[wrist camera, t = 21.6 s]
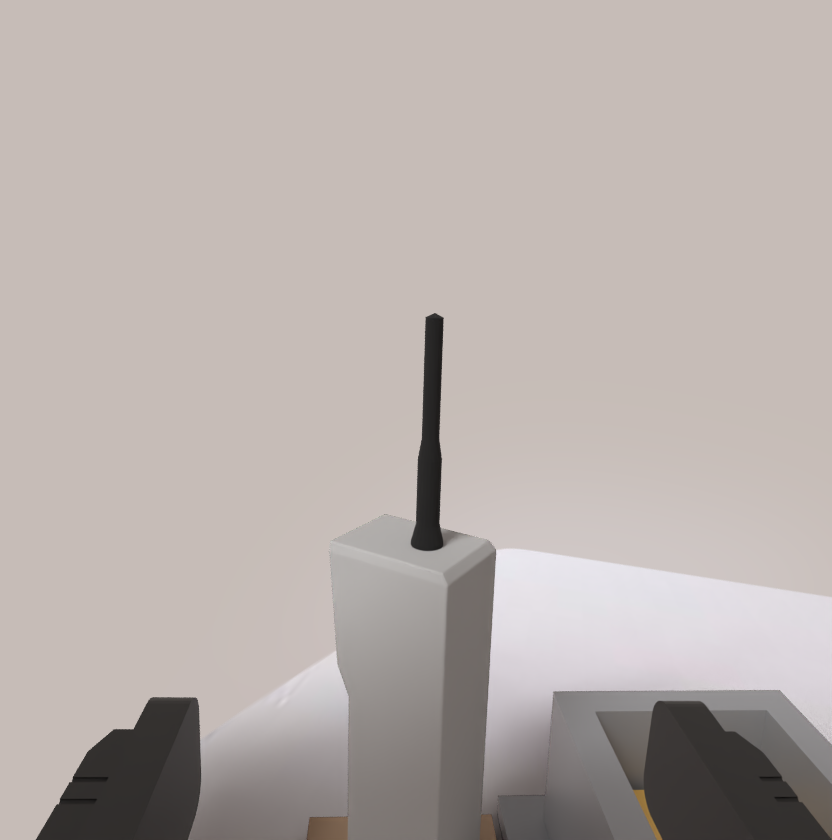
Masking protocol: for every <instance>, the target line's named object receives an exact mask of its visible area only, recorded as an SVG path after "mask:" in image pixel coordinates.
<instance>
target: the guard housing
mask: <svg viewBox="0 0 832 840" xmlns="http://www.w3.org/2000/svg"><path fill="white" fill-rule="evenodd" d="M657 701H701V702H703V703H704V704H705V705H706V706H707V708H708V709H709V710H710V712H711V713H712V714H713V716H714V717H715V718H716V720H717V721H718V722H719V724H720V725H721V726H722V728H723V729H724V730H725V731H735V732H737V733H738V734H739V735H741V736H742V737H743V738H745V739H746V740H747V741H749V742H750V743H751V744H753V745H754V746H755V747H757V748H758V749H759V750H761V751H762V752H763V753H764V754H765V755H766V757H767V758H768V759H769V761H770V762H771V763H772V764H773V766H774V767H775V768H776V769H777V771H778V772H779V773H780V775H781V776H782V780H783V781H786V782H787V783H788V785H789V786H790V787H791V788H792V790H793V791H794V792H795V794H796V795H797V796H798V800H799V802H803V804H804V805H805V806H806V808H807V809H808V810H809V811H810V813H811V814H812V815H813V816H814V818H815V819H816V820H817V822H818V823H819V824H820V825H821V827H822V828H823V829H824V830H825V832H826V833H827V834H828V836H829V837H830V838H831V839H832V745H831V744H830V743H829V742H828V741H827V739H826V738H825V737H824V736H823V735H822V734H821V733H820V732H819V731H818V730H817V729H816V728H815V727H814V726H813V725H812V724H811V723H810V722H809V721H808V720H807V718H806V717H805V716H804V715H803V714H802V713H801V712H800V711H799V710H798V709H797V708H796V707H795V706H794V705H793V704H792V703H791V702H790V701H789V700H788V698H787V697H786V696H785V695H784V694H783V693H782V692H781V691H780V690H725V691H562V692H553V705H552V717H551V730H550V742H549V755H548V767H547V780H546V792H545V795H517V796H498V805H497V814H498V819H499V824H500V828H501V833H502V838H503V840H657V839H656V837H655V835H654V833H653V830H652V828H651V826H650V824H649V822H648V820H647V818H646V816H645V814H644V812H643V810H642V808H641V806H640V804H639V802H638V800H637V798H636V796H635V793H634V791H633V790H644V768H645V761H646V754H647V747H648V740H649V732H650V725H651V718H652V711H653V708H654V705H655V703H656V702H657Z"/></svg>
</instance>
